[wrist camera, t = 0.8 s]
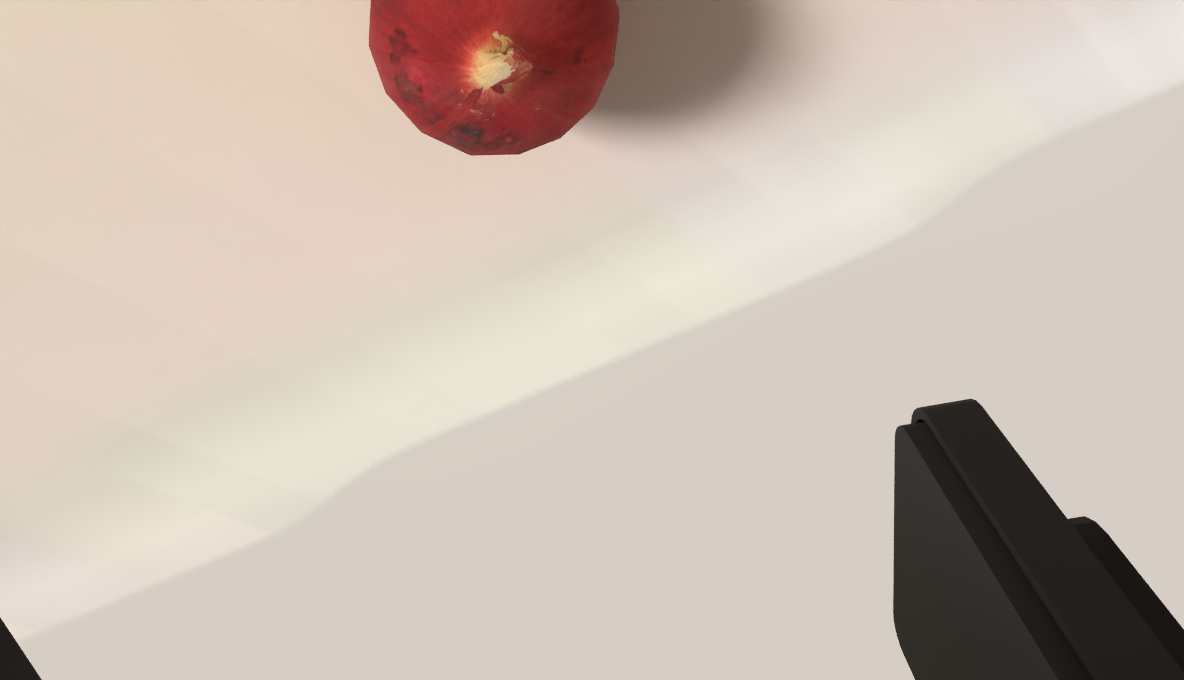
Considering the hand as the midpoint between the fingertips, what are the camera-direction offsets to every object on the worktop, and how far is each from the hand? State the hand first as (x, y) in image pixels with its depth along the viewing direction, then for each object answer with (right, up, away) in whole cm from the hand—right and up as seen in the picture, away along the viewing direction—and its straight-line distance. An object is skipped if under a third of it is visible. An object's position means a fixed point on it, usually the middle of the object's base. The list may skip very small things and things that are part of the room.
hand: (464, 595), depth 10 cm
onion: (-1, +12, +16) cm, 20 cm away
